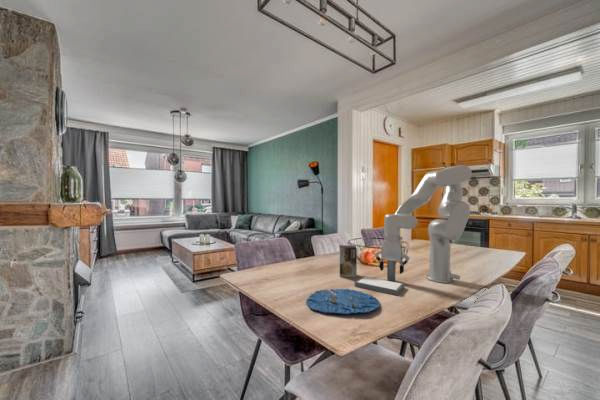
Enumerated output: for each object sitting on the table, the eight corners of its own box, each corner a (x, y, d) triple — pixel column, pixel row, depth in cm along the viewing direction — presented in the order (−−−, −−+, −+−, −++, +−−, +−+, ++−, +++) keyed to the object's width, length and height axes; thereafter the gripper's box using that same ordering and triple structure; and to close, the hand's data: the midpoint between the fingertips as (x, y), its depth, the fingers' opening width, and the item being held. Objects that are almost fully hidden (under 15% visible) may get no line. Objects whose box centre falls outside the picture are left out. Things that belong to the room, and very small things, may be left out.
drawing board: (404, 287, 123) (404, 283, 123) (397, 295, 113) (397, 290, 113) (363, 279, 134) (363, 275, 134) (354, 286, 124) (354, 282, 124)
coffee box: (355, 274, 144) (355, 245, 144) (356, 277, 138) (357, 247, 138) (338, 273, 145) (339, 244, 145) (339, 277, 139) (339, 247, 138)
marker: (396, 280, 134) (396, 253, 133) (394, 282, 130) (394, 255, 130) (388, 279, 136) (388, 252, 136) (385, 281, 132) (386, 253, 132)
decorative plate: (291, 300, 111) (291, 288, 111) (346, 288, 125) (346, 277, 125) (333, 328, 85) (333, 312, 85) (396, 308, 100) (396, 295, 100)
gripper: (411, 239, 131) (410, 272, 131) (377, 235, 141) (377, 267, 141) (408, 241, 125) (407, 276, 125) (372, 237, 135) (372, 270, 135)
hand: (391, 271), depth 133 cm, fingers open, 9 cm apart
